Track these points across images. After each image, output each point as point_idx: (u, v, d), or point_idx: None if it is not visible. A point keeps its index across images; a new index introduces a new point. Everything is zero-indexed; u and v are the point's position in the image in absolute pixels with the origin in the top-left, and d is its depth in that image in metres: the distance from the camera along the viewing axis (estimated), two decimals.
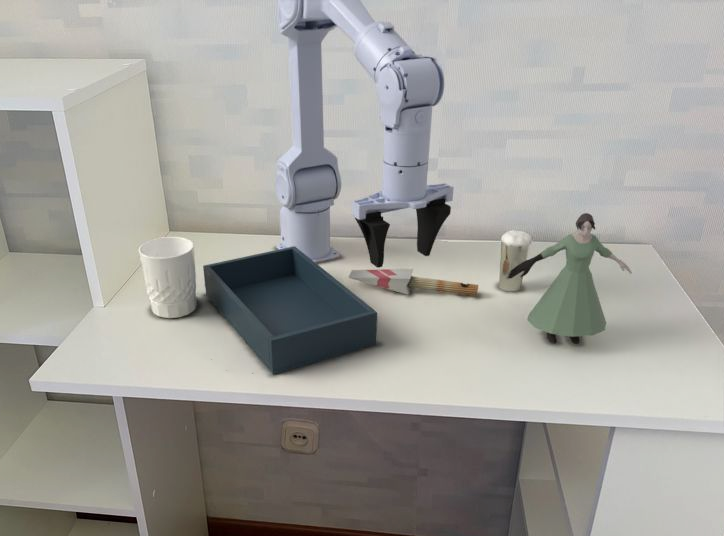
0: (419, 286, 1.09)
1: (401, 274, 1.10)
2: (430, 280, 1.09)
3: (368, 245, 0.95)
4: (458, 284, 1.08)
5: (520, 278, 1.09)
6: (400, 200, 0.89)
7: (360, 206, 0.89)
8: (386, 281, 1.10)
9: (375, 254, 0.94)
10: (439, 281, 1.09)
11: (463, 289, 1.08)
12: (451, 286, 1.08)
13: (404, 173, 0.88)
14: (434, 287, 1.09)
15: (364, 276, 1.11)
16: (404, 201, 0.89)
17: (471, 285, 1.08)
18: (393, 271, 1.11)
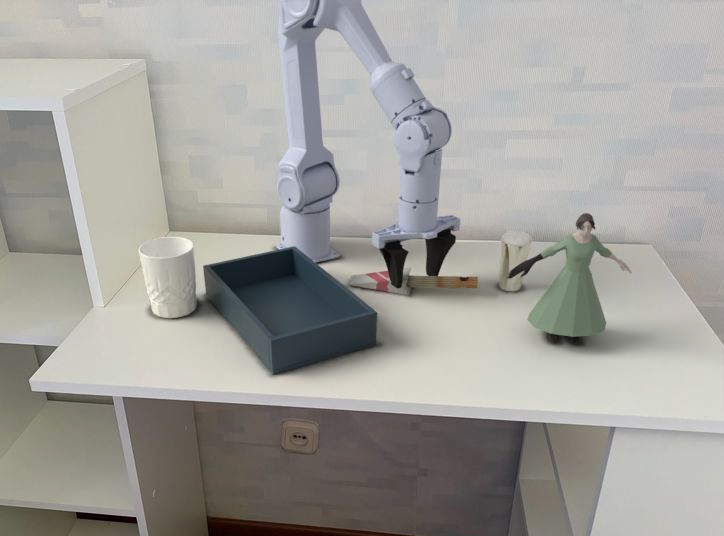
0: (419, 285, 1.09)
1: None
2: (428, 278, 1.09)
3: (388, 269, 1.08)
4: (457, 278, 1.07)
5: (520, 278, 1.09)
6: (414, 231, 1.03)
7: (380, 237, 1.02)
8: (385, 285, 1.10)
9: (395, 277, 1.07)
10: (438, 278, 1.08)
11: (462, 283, 1.07)
12: (450, 281, 1.08)
13: (418, 208, 1.01)
14: (433, 285, 1.09)
15: (363, 281, 1.11)
16: (418, 232, 1.03)
17: (470, 278, 1.07)
18: None
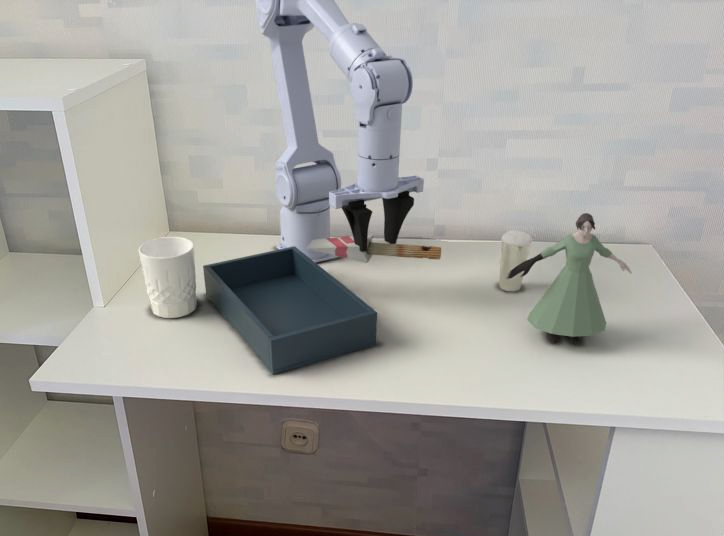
0: (379, 252, 1.03)
1: None
2: (389, 245, 1.02)
3: (353, 231, 1.03)
4: (418, 248, 1.01)
5: (520, 278, 1.09)
6: (373, 191, 0.97)
7: (336, 196, 0.96)
8: (344, 250, 1.04)
9: (359, 239, 1.02)
10: (399, 246, 1.02)
11: (424, 253, 1.01)
12: (411, 250, 1.01)
13: (377, 165, 0.95)
14: (394, 253, 1.02)
15: (322, 246, 1.06)
16: (377, 191, 0.97)
17: (432, 248, 1.00)
18: (352, 238, 1.05)
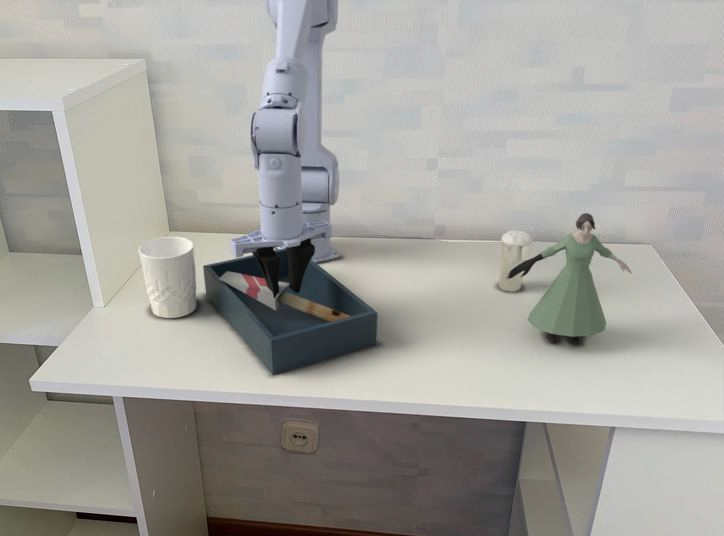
0: (289, 304, 1.01)
1: None
2: (301, 300, 1.00)
3: (265, 277, 1.00)
4: (329, 311, 0.99)
5: (520, 278, 1.09)
6: (275, 239, 0.94)
7: (236, 245, 0.93)
8: (255, 292, 1.01)
9: (271, 285, 0.99)
10: (311, 303, 1.00)
11: (333, 317, 0.99)
12: (322, 311, 0.99)
13: (276, 214, 0.92)
14: (304, 309, 1.00)
15: (235, 281, 1.02)
16: (279, 240, 0.94)
17: (342, 315, 0.99)
18: None
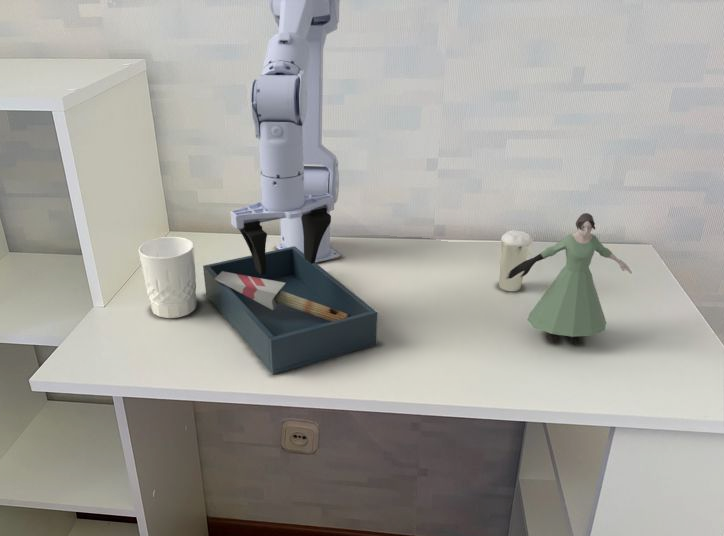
0: (286, 303, 1.01)
1: (270, 286, 1.01)
2: (298, 299, 1.00)
3: (252, 253, 0.98)
4: (327, 309, 1.00)
5: (520, 278, 1.09)
6: (276, 210, 0.93)
7: (237, 216, 0.92)
8: (252, 291, 1.01)
9: (258, 262, 0.97)
10: (308, 302, 1.00)
11: (330, 316, 0.99)
12: (319, 310, 1.00)
13: (278, 184, 0.91)
14: (301, 308, 1.00)
15: (231, 281, 1.02)
16: (280, 211, 0.92)
17: (340, 313, 1.00)
18: (263, 281, 1.02)
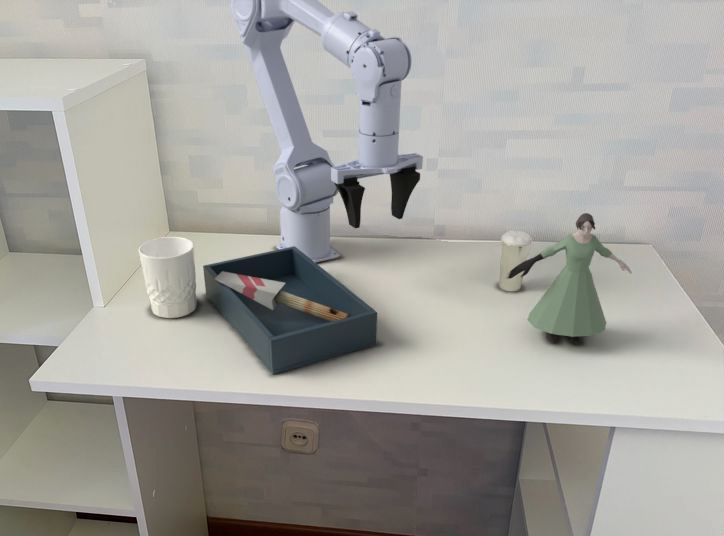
0: (286, 303, 1.01)
1: (270, 286, 1.01)
2: (298, 299, 1.00)
3: (347, 208, 1.06)
4: (327, 309, 1.00)
5: (520, 278, 1.09)
6: (374, 166, 1.01)
7: (338, 171, 1.00)
8: (252, 291, 1.01)
9: (353, 216, 1.05)
10: (308, 302, 1.00)
11: (330, 316, 0.99)
12: (319, 310, 1.00)
13: (377, 142, 0.99)
14: (301, 308, 1.00)
15: (231, 281, 1.02)
16: (377, 167, 1.01)
17: (340, 313, 1.00)
18: (263, 281, 1.02)
